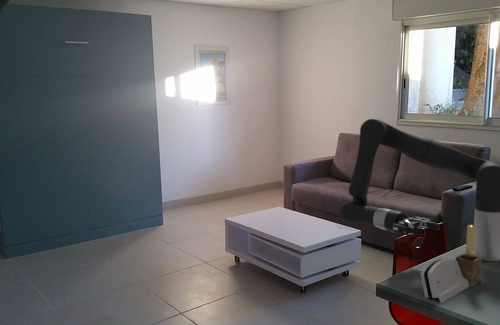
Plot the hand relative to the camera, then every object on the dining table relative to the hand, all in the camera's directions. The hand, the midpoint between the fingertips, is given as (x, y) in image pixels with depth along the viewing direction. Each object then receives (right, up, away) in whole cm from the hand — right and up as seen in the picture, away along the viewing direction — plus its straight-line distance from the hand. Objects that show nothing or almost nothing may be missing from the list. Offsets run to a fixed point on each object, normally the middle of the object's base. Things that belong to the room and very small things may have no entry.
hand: (432, 230), depth 148 cm
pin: (+8, -12, -8) cm, 16 cm away
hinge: (-2, -16, -13) cm, 21 cm away
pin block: (+8, -15, -7) cm, 18 cm away
